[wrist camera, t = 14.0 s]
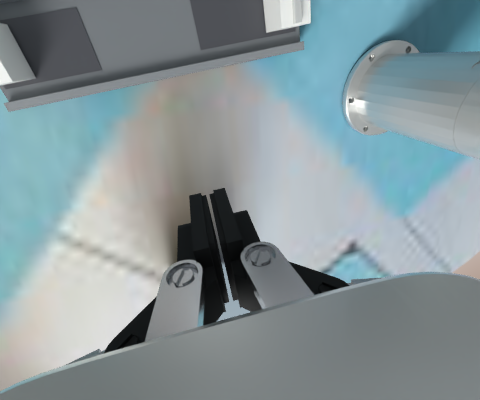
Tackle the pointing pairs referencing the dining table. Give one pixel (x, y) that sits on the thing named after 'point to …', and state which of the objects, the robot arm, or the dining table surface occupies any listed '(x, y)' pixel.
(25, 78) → the tab
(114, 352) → the robot arm
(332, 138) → the dining table surface
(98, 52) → the switch board
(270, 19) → the tab
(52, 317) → the dining table surface
